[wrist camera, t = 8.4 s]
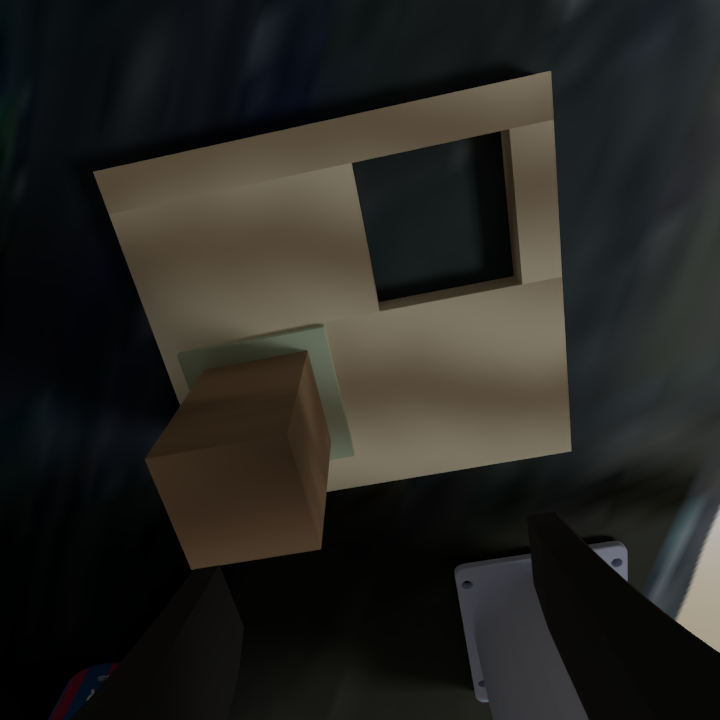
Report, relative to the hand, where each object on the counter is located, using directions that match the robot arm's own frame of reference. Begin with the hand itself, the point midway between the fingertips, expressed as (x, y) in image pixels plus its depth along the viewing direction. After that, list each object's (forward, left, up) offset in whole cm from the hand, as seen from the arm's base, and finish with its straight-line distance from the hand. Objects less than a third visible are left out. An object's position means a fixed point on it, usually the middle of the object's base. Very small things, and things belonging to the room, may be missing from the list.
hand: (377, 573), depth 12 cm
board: (+3, 0, -10) cm, 11 cm away
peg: (0, +4, -9) cm, 10 cm away
